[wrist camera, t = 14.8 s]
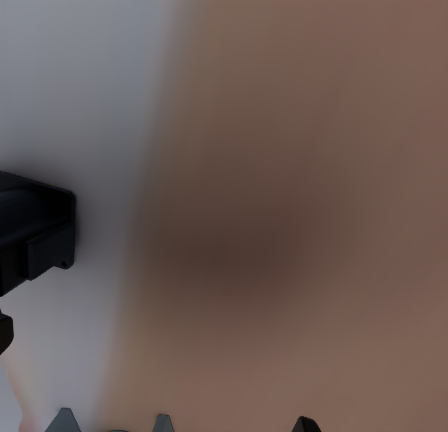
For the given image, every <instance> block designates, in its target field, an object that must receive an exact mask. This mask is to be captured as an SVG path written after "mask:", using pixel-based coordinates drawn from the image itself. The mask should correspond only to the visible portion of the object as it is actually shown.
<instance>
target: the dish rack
mask: <svg viewBox="0 0 448 432" xmlns="http://www.w3.org/2000/svg"><path fill="white" fill-rule="evenodd" d="M45 432H80V430H79V427H78V425H77V423H76V421H75V419H74V416H73V414H72V412H71V410H70V409H65V408H62V409H61V410H60V412H59V413H58V414H57V416H56V417H55V418H54V420H53V421H52V423H51V424H50V425H49V427H48V428H47V429H46V431H45ZM152 432H174V431H173V428H172V425H171V421H170V418H169V415H159V416H158V419H157V421H156V424H155V426H154V429H153V431H152Z"/></svg>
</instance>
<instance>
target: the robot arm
mask: <svg viewBox="0 0 448 432" xmlns="http://www.w3.org/2000/svg"><path fill="white" fill-rule="evenodd" d="M66 196H67V197H68V200H67V199H66ZM74 245H75V196H74V194H73V193H72V192H70V191H67V190H64V189H61V188H57V187H54V186H50V185H47V184H43V183H40V182H37V181H33V180H30V179H26V178H23V177H19V176H16V175H13V174H9V173H6V172H2V171H0V297H2V296H4V295H5V294H7V293H8V292H10V291H11V290H13V289H14V288H15V287H17V286H18V285H20V284H21V283H23V282H24V281H26V280H30V281H32V280H34V279H35V278H37V277H38V276H40V275H41V274H43V273H44V272H46V271H47V270H49V269H50V268H51V267H53V266H55V267H58V268H62V269H69V268H70V267H71V266H72V265H73V257H74ZM65 262H66V263H67V264H66V263H65ZM13 338H14V330H13V319H12V317H10V316H7V315H4V314H2V312H1V309H0V355H1V354H2V353H3V352H4V351H5V350H6V349H7V348H8V347H9V345H10V344H11V343H12V341H13ZM292 432H322V431H321V430H320V428H319V427H318V425H317V423H316V422H315V421H314V420H313V419H310V418H307V417H304V416H300V417H299V418H298V420H297V422H296V424H295V426H294V428H293V430H292Z"/></svg>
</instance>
